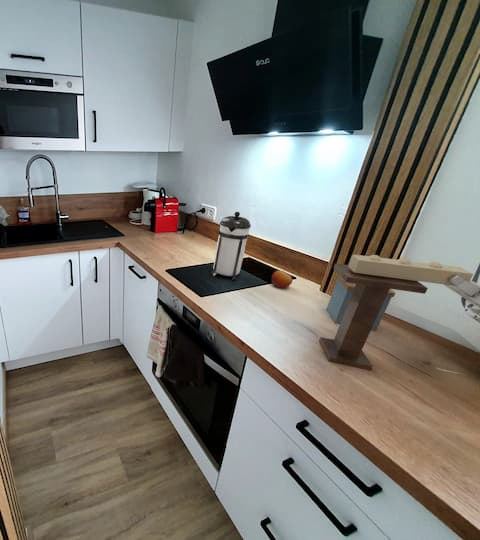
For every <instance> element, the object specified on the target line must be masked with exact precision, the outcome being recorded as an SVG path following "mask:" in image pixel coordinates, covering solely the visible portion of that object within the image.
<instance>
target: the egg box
mask: <svg viewBox="0 0 480 540" xmlns="http://www.w3.org/2000/svg"><path fill="white" fill-rule="evenodd" d="M347 265H348V267H349V268H350V269H351V270H352V271H353V272H354V273H361V274H369V275H376V276H384V277H391V278H399V279H406V280H414V281H418V282H420V283H421V282H423V283H428V284H429V283H430V284H437V285H443V284H444V285H443V286H445V285H451V286H456V285H454V284H453V283H451V282H450V281H448V280H447V279H448V278H449V277H451V276H452V275H457V276H459V277H461V278H462V279H464V280H465V281H467V282H469V281H470V280H471V281H472V279H473V277H474V273H472V272H471V271H469V270H467V269H465V268H463V267H461V266H454V265H445V264H441V263H440V262H437V261H430V262H421V261H412V260H409V259H408V258H405V257H404V258H403V257H402V258H399V259H396V258H386V257H380V255H377V254H371V255H369V256H368V255H360V254H352V255H351V258H350V261H349V263H348V264H347Z"/></svg>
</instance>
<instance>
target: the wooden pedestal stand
mask: <svg viewBox="0 0 480 540" xmlns="http://www.w3.org/2000/svg"><path fill="white" fill-rule="evenodd" d="M348 265H349V264H343V263H334V265H333V270H334V271H335V272H336V273H337V275H338V274H339V275H340V276H341V277H342V279H343V280H344V281H345V282H348V283H355V284H356V286H355V288H354V291H353V293H352V296H351V298H350V301H349V303H348V306H347V308H346V311H345V313H344V316H343V318H342V321H341V323H340V324H339V326H338V328H337V331H336V333H335V336H334V339H332V338H327V337H322V336H320V337H319V340H318V342H319V344H320V346H321V348H322V350H323V353H324V355H325V357H326V359H327V361H328V362H331V363H335V364H339V365H344V366H348V367H353V368H357V369H362V370H367V371H371V370H372V368H373V365H372V363H371V362H370V360H369V358H368V357H367V356H366V354H365V352H364V351H363V349H364V347H365V344H366V342H367V341H368V340H367V339H368V337H369V335H370V334H371V331H372V330H371V329H372V327H373V324H374V322H375V320H376V318H377V316H378V313H379V311H380V309H381V307H382V305H383V303H384V300H385V298H386V296H387V294H388V292H389V289H391V290H397V291H404V292H409V293H417V294H422V295H425V294H426V293H427V291H428V289H429V288H428V287H426V286H425V285H424V284H422V283H421V281H414V280H406V279H399V278H391V277H384V276H376V275H369V274H361V273H354V272H353V271H352V270H351V269H350V268H349V267H348Z"/></svg>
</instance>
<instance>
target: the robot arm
mask: <svg viewBox="0 0 480 540" xmlns="http://www.w3.org/2000/svg"><path fill="white" fill-rule="evenodd" d="M447 280H448V281H450V282H451V283H453V284H454V285H456V286H451V285H444V284H442V285H443V286H445V287H446V288H448V290H451V291H452V292H454V293H456V294H457V295H458V296H460V297H461V298H460V301H461V305H462V307H463V308H464V312H465V314H466V315H467V316H469V317H470V318H472V319H473V320H475V321H476V322H478V323H479V324H480V263H478V266H477V268H476V271H475V273H474V274H473V276H472V278H471V280H470V281H469V282H467V281H465V280H464V279H462V278H461V277H459V276H457V275H452V276H451V277H449V278H448V279H447Z"/></svg>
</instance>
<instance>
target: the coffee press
mask: <svg viewBox="0 0 480 540" xmlns="http://www.w3.org/2000/svg"><path fill="white" fill-rule="evenodd" d="M240 215H241V212H239V211H235V212H234V215H229V216H228V215H227V216H225V217H223V218H222V220H220V222H219V225H220V227H219V229H218V238H217V243H216V248H215V249H216V250H215V254H214V261H213V267H212V269H213V270H212V271H211V273H210V275H211V276H212V277H215V276H216V275H217V274H219V275H221V276H225V277H230V279H231V281H233V282H234V281H235V282H236V281H237V276H238V275H239V274H241V269H242V264H243V260H244V256H245V250H246V246H247V241H248V238H249V235H250V233H249V232H250V229H251V227H252V224H251V222H250V220H249V219H248V218H246V217H243V216H240Z"/></svg>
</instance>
